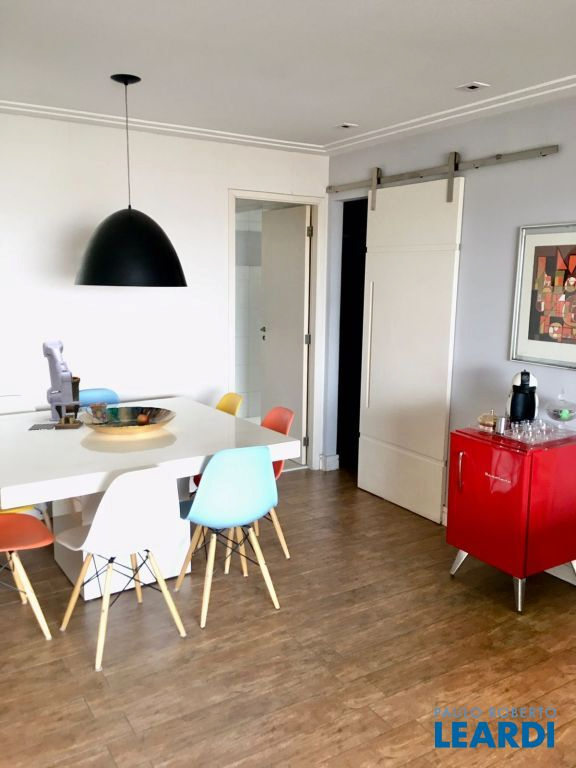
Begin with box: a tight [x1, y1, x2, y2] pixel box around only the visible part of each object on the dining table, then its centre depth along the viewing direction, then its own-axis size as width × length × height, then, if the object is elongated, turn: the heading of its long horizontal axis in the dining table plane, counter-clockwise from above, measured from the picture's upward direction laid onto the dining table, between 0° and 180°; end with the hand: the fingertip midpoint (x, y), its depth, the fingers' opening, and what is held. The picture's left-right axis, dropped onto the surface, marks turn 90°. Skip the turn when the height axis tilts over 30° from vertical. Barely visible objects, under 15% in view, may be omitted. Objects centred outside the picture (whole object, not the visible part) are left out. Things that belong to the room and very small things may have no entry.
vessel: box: [57, 376, 81, 415], centre depth 395 cm, size 14×14×20 cm
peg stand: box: [54, 417, 84, 431], centre depth 358 cm, size 12×12×5 cm
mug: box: [85, 401, 109, 423], centre depth 363 cm, size 12×9×11 cm
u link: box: [60, 414, 77, 425], centre depth 357 cm, size 8×6×4 cm
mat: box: [27, 422, 58, 431], centre depth 358 cm, size 12×12×1 cm
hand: (68, 419), depth 357 cm, fingers open, 7 cm apart
